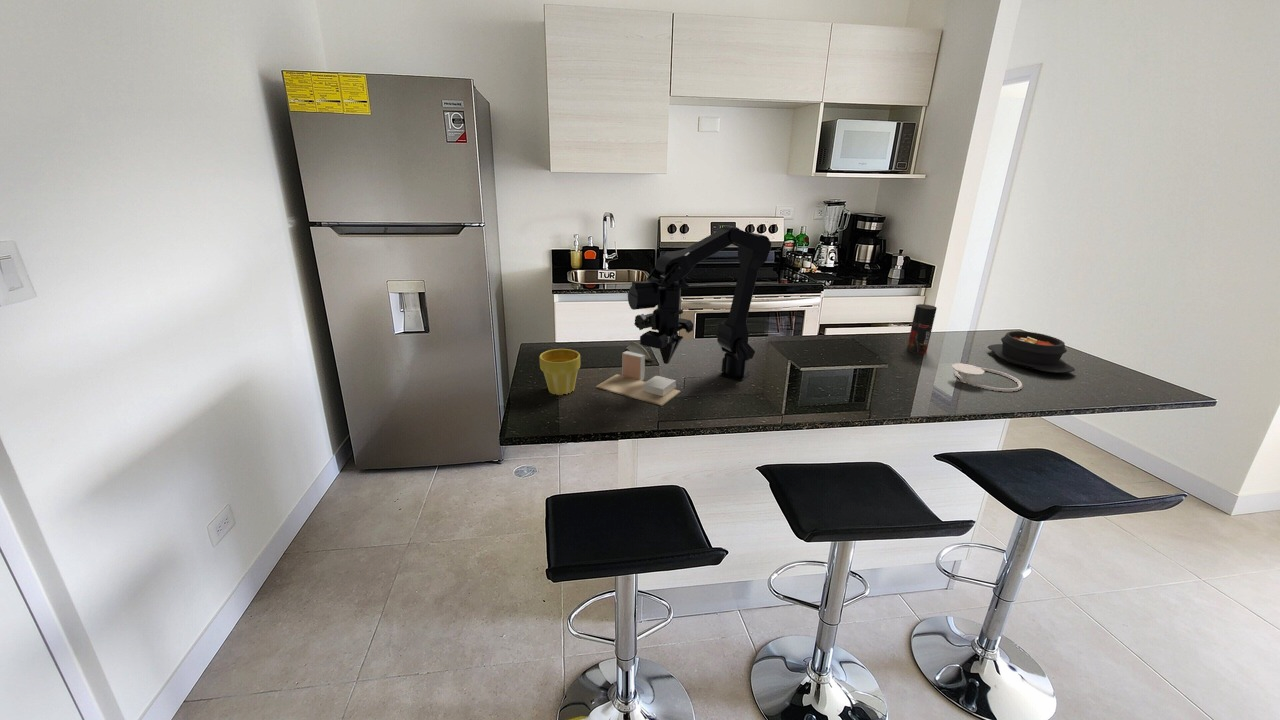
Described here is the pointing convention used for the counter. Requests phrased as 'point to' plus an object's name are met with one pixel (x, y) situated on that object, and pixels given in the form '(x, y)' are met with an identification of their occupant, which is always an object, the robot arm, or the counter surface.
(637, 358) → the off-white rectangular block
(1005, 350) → the casserole
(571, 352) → the plant pot
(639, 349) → the ceramic fragment
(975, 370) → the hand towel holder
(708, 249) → the robot arm
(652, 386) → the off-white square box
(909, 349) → the deodorant
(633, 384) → the cork mat
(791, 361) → the counter surface
